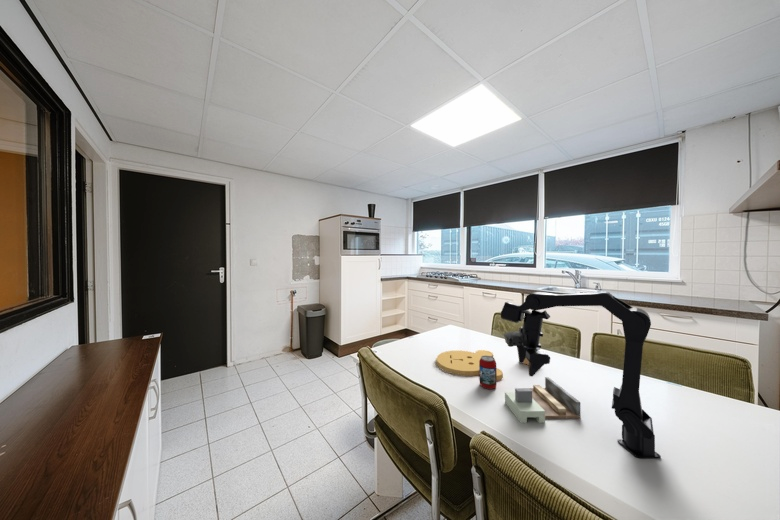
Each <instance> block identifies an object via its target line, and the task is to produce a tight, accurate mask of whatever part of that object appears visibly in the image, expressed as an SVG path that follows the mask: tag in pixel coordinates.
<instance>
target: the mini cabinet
mask: <svg viewBox="0 0 780 520" xmlns="http://www.w3.org/2000/svg"><path fill="white" fill-rule="evenodd" d="M529 388H530V387H527V388H526V387H523V388H521V387H520V388H519V387H518V388H517V387H515V388H514V391H504V403H505V404H506V405H507V407H508V408H509V409H510V410H511V412H512V414H514V416H515V417H516V419H517V420H518V421H519V422H520V424H527V423H528V418H534V419H535V420H536V421H537V423H539V424H542V423H543V424H545V423H546V419H545V411H544V409H543V408H542V407H541V406H540V405H539V404H538V403H537V402H536V401H535V400H534V399H533V398H532V390H530V389H529Z"/></svg>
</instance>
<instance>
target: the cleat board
mask: <svg viewBox="0 0 780 520" xmlns="http://www.w3.org/2000/svg"><path fill="white" fill-rule="evenodd" d="M544 378H545V379H544V380H545V382H544V385H545V387H542V385H540V384H533V386H532V387H528V388H529V389H530V390H532V398H533V399H534V400H535V401H536V402H537V403H538V404H539V405H540V406H541V407H542V408H543V409H544V411H545V420H547V419H548V420H549V419H551V420H552V419H553V420H555V419H557V420H558V419H561V420H562V419H563V420H564V419H581V401H579V400H578V399H577V398H576V397H575V396H573V395H572V394H571V393H569V392H568V391H566V390H565V389H564V388H563V387H561V386H560V385H559V384H558V383H557V382H555V381H554V380H552V379H551V378H550V377H548V376H544Z"/></svg>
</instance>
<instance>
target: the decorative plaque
mask: <svg viewBox="0 0 780 520" xmlns="http://www.w3.org/2000/svg"><path fill="white" fill-rule="evenodd" d="M482 356H491V357H493V358H494V353H493V352H491V351H490V350H485V349H481V350H480V349H479V350H476V351H475V352H472V351H468V350H448V351H443V352H441V353H439V354H438V355H437V356H436V365H437V366H438V368H439V369H440V370H442V371H444V372H446V373H449V374H453V375H455V376H456V375H457V376H463V377H475V376H480V373H479V361H480V359H481V357H482ZM496 373H497V381H501V379H502V378H504V377H503V376H504V373H503V371H502V370H501V369H500V368H497V367H496ZM502 380H503V379H502Z"/></svg>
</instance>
